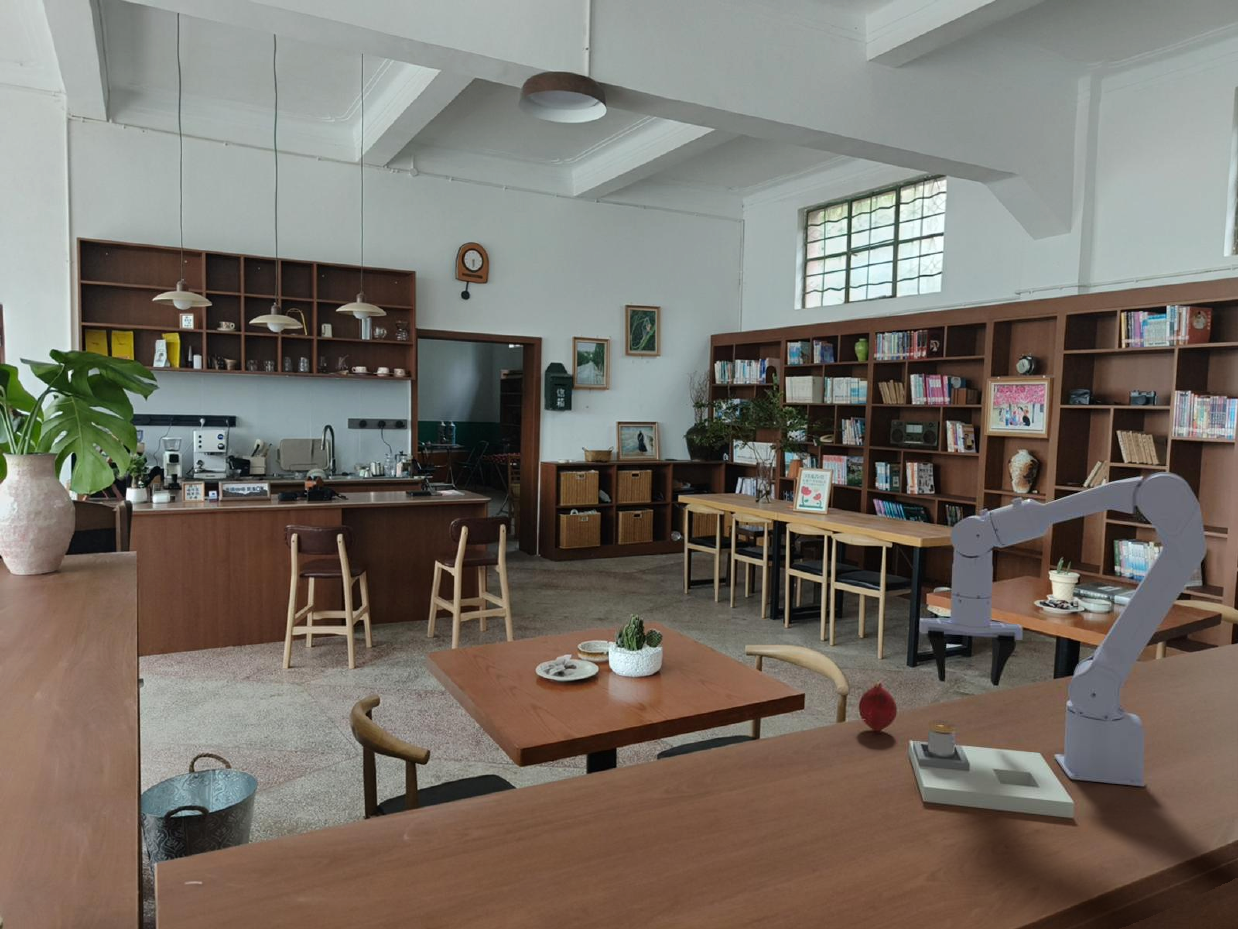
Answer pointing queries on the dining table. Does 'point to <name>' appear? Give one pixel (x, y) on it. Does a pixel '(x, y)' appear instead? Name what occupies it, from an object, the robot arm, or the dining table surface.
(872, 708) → the onion
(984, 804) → the board
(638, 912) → the dining table surface
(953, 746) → the silver and gold cylinder
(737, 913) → the dining table surface
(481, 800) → the dining table surface
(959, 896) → the dining table surface
